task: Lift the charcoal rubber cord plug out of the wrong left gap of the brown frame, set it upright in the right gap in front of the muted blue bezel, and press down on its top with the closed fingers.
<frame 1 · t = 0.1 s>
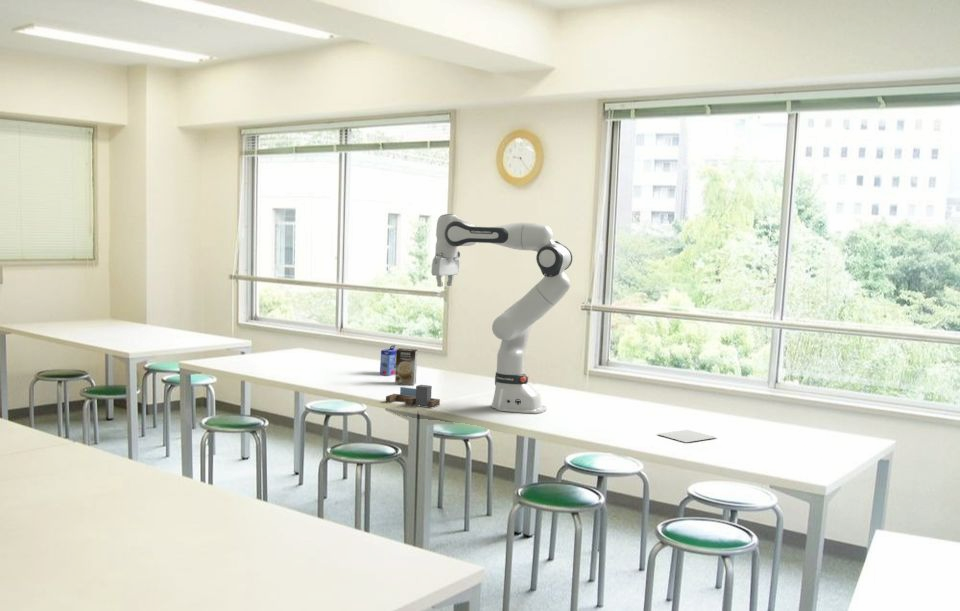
hand: (444, 286, 361), 48 cm above the table, fingers open, 8 cm apart
plug: (423, 405, 350), on the table
coffee box: (405, 384, 399), on the table
brown frame: (412, 404, 352), on the table
paper stack: (689, 442, 306), on the table
ink cartridge box: (389, 374, 424), on the table
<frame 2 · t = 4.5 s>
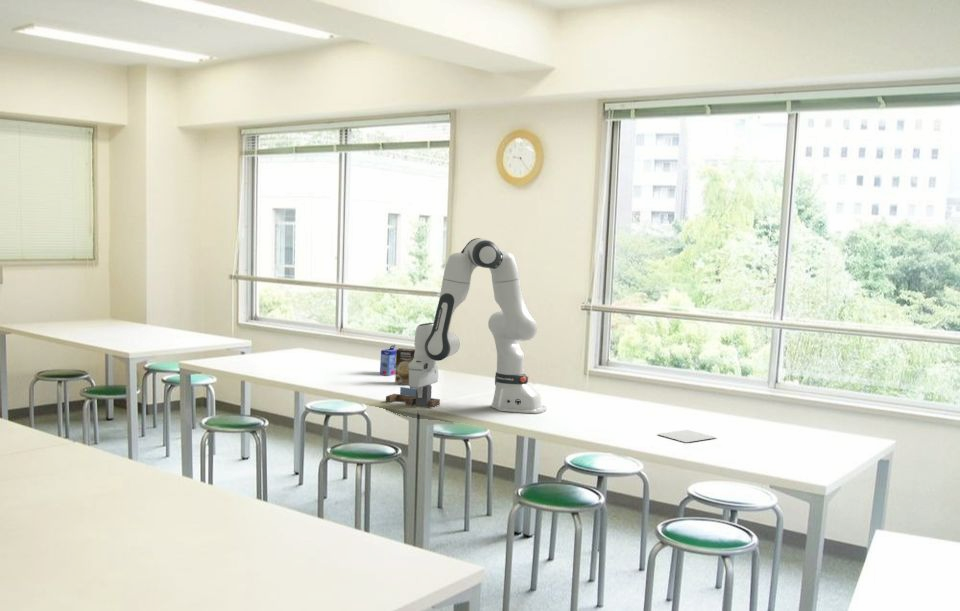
hand: (423, 396, 349), 4 cm above the table, fingers closed on plug, 4 cm apart
plug: (423, 405, 350), on the table, touching gripper
everything else where it was.
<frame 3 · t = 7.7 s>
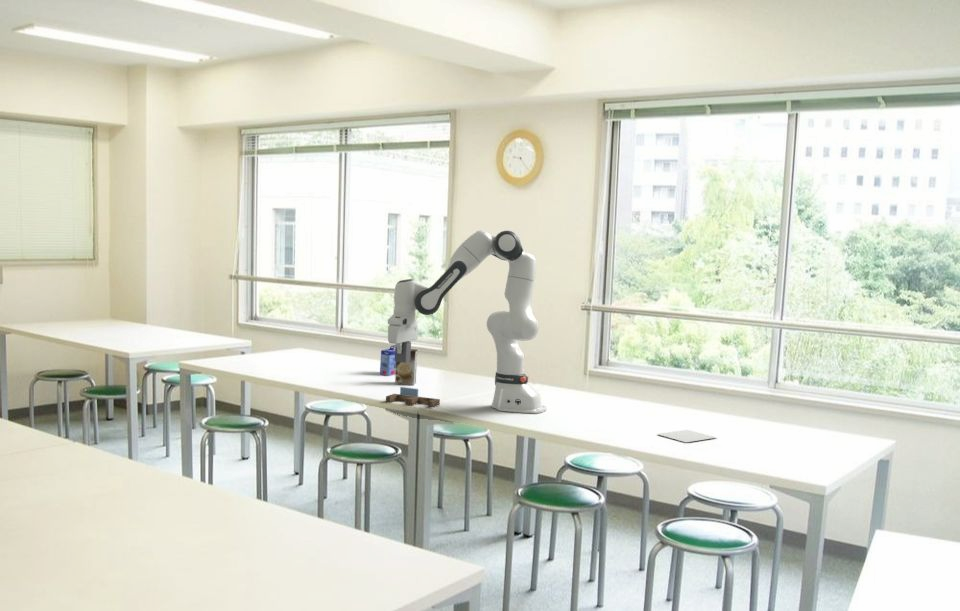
hand: (403, 352, 352), 21 cm above the table, fingers closed on plug, 4 cm apart
plug: (402, 361, 352), point 17 cm above the table, touching gripper
everything else where it was.
when the fingers open (5 cm above the table, at t = 11.2 s): plug drops 1 cm, on the table.
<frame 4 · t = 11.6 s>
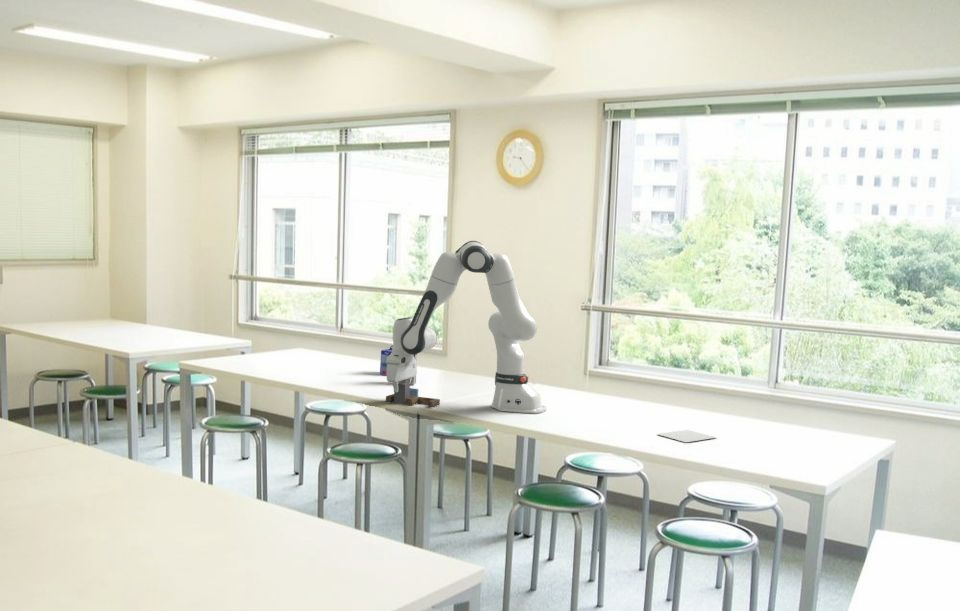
hand: (401, 390, 353), 5 cm above the table, fingers open, 8 cm apart
plug: (401, 402, 354), on the table
everything else where it was.
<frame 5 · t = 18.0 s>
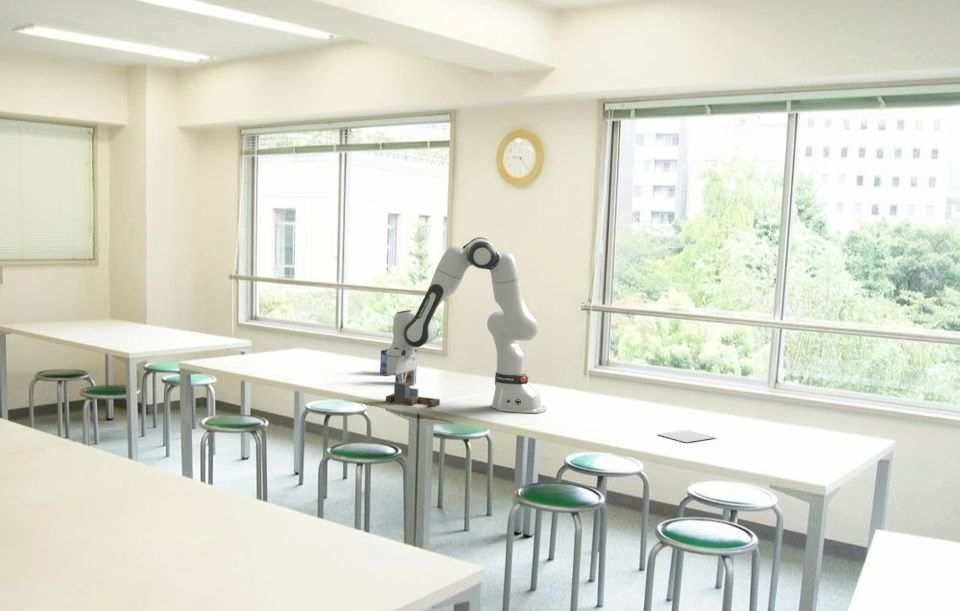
hand: (401, 383, 353), 8 cm above the table, fingers closed, pressing on plug
plug: (401, 402, 354), on the table, touching gripper
everything else where it was.
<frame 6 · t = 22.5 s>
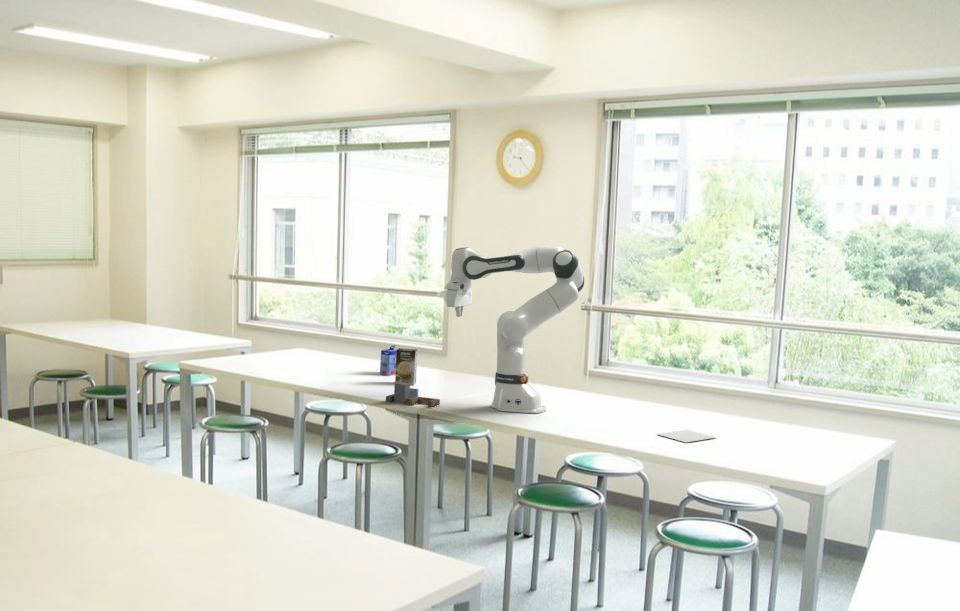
hand: (459, 316, 375), 34 cm above the table, fingers closed
plug: (401, 402, 354), on the table
everything else where it was.
at the end: plug 0.3 cm from the target spot on the brown frame, point 0.0 cm above the brown frame's base; plug tilted 0°; the gripper is holding nothing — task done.
